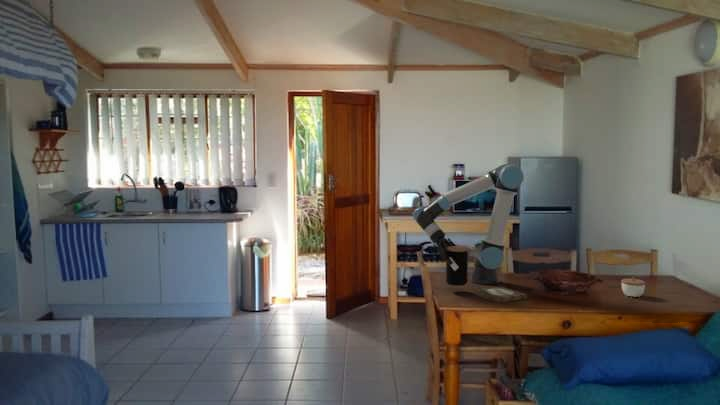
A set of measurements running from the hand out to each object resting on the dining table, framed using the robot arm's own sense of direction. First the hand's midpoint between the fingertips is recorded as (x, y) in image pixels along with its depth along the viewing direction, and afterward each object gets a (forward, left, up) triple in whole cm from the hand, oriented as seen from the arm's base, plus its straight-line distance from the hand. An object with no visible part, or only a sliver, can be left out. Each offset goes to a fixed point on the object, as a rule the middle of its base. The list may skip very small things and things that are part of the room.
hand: (462, 267), depth 293 cm
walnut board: (-13, +14, -13) cm, 23 cm away
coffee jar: (+1, -3, -9) cm, 9 cm away
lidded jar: (-74, +42, -13) cm, 86 cm away
